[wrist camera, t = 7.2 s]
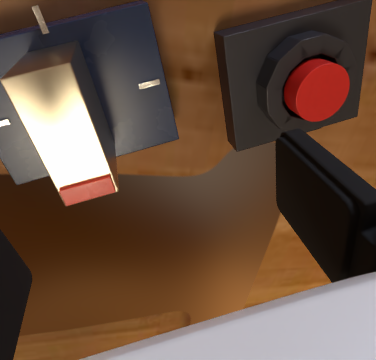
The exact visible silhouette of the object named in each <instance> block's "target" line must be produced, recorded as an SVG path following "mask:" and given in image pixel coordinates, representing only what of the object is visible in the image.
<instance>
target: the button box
mask: <svg viewBox="0 0 376 360" xmlns="http://www.w3.org/2000/svg"><path fill="white" fill-rule="evenodd" d="M371 6H372V0H337V1H333V2H330V3H326V4H322V5H318V6H314V7H310V8H306V9H302V10H298V11H294V12H290V13H287V14H283V15H279V16H275V17H271V18H267V19H263V20H259V21H255V22H251V23H248V24H244V25H240V26H236V27H232V28H228V29H224V30H220V31H216V32H214V38H215V46H216V53H217V61H218V69H219V76H220V84H221V91H222V99H223V106H224V114H225V122H226V129H227V137H228V141H229V143H230V144H231V145H232V146H233V148H234V149H235V150H236V151H237V152H238V151H241V150H245V149H248V148H251V147H255V146H259V145H262V144H265V143H269V142H272V141H276V139H277V138H280V135H281V133H282V132H286V131H289V130H293V129H297V128H300V129H301V130H303V131H304V132H305V133H306V132H309V131H313V130H316V129H319V128H321V127H323V126H327V125H330V124H334V123H337V122H341V121H344V120H347V119H351V118H354V117H357V115H358V107H359V100H360V92H361V84H362V76H363V68H364V61H365V53H366V45H367V37H368V29H369V21H370V14H371ZM312 58H321V59H324V60H327V61H330V62H333V63H336V64H338V65H340V66H342V67H343V68H344V69H345V70H346V71H347V73H348V76H349V80H350V87H349V92H348V95H347V97H346V99H345V101H344V103H343V105H342V106H341V107H340V108H339V110H338V111H337V112H335V113H334V114H333V115H332V116H330V117H329V118H327V119H324V120H322V121H316V122H311V121H307V120H305V119H303V118H302V117H300V116H299V115H297V114H296V113H294V112H293V111H291V110H290V109H289V108H288V106H287V105H286V103H285V99H284V88H285V84H286V81H287V79H288V77H289V75H290V74H291V72H292V71H293V70H294V69H295V68H296V67H297V66H298V65H299V64H301V63H302V62H304V61H306V60H309V59H312Z"/></svg>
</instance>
